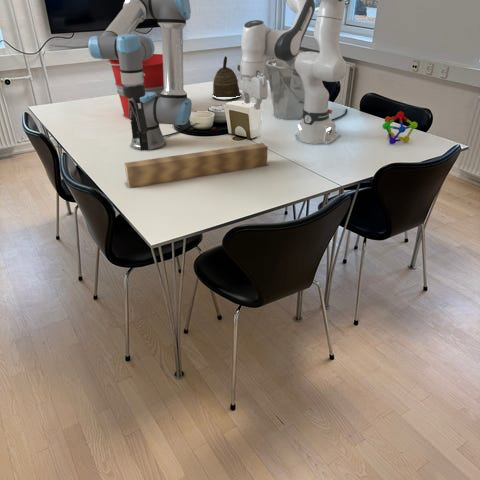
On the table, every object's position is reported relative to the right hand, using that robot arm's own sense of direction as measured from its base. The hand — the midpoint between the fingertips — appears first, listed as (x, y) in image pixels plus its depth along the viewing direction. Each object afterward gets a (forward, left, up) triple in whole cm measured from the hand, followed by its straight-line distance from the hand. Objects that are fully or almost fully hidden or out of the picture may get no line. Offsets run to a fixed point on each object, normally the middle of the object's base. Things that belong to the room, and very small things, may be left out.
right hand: (252, 106), depth 173 cm
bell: (-73, -86, -25) cm, 115 cm away
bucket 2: (-70, -33, -25) cm, 81 cm away
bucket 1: (-16, -93, -25) cm, 98 cm away
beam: (+21, -9, -25) cm, 34 cm away
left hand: (+41, -18, -9) cm, 46 cm away
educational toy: (-68, +32, -25) cm, 79 cm away
